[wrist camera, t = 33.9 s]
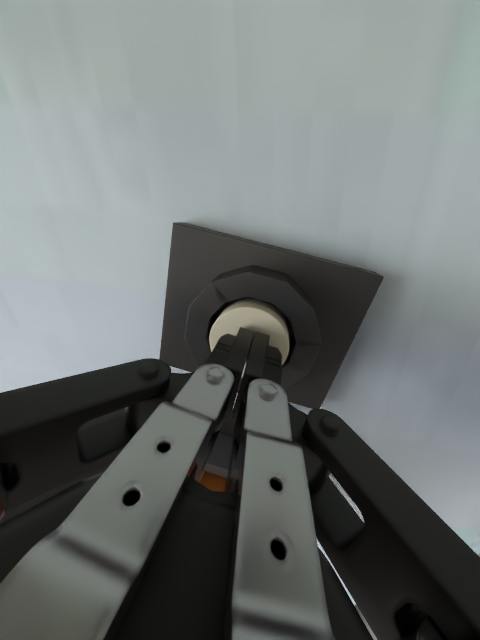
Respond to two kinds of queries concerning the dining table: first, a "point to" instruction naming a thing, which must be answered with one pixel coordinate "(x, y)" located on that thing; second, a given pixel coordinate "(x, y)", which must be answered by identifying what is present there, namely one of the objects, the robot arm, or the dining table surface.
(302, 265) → the control pad
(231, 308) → the button
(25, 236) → the dining table surface
